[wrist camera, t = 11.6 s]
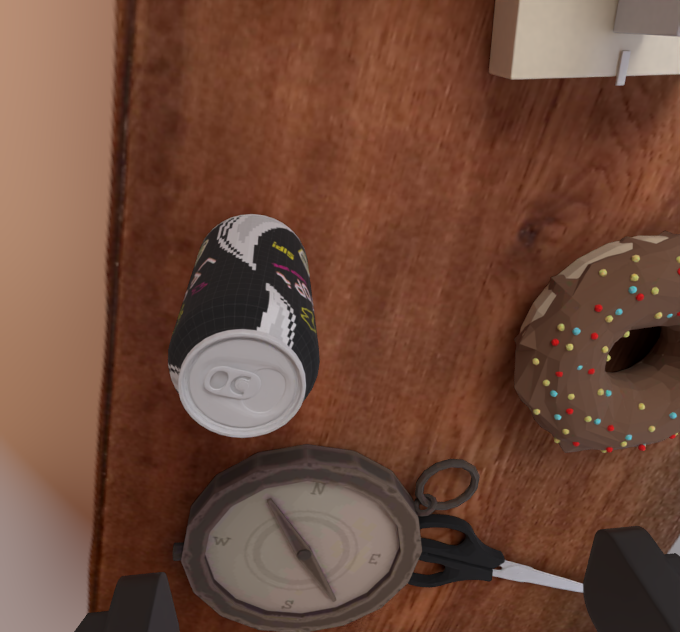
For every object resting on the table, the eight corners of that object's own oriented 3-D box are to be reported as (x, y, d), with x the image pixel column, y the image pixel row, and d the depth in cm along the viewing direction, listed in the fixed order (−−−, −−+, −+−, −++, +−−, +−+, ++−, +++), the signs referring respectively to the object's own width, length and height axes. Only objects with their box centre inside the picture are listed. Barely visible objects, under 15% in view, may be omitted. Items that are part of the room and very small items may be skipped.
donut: (594, 180, 31) (648, 208, 26) (765, 279, 35) (836, 318, 30) (452, 383, 36) (477, 435, 32) (614, 449, 40) (656, 503, 36)
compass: (177, 609, 43) (172, 634, 41) (174, 437, 36) (168, 459, 34) (438, 610, 46) (444, 634, 44) (485, 450, 38) (495, 471, 37)
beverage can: (221, 191, 29) (191, 293, 18) (324, 234, 31) (350, 351, 20) (184, 286, 31) (138, 426, 21) (282, 322, 33) (285, 468, 22)
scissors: (634, 559, 45) (408, 504, 40) (640, 569, 45) (411, 514, 40) (587, 612, 48) (370, 567, 43) (592, 622, 47) (372, 577, 42)
